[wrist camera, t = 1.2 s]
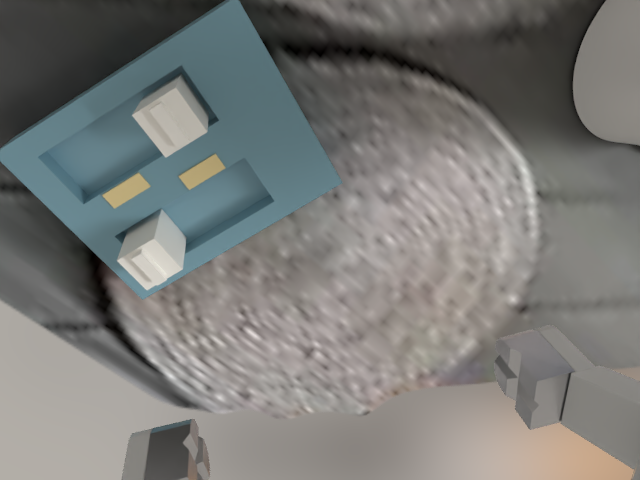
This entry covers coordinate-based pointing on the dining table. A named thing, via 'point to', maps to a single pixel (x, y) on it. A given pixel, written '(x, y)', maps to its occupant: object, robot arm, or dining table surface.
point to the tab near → (172, 115)
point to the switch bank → (188, 162)
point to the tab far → (153, 250)
